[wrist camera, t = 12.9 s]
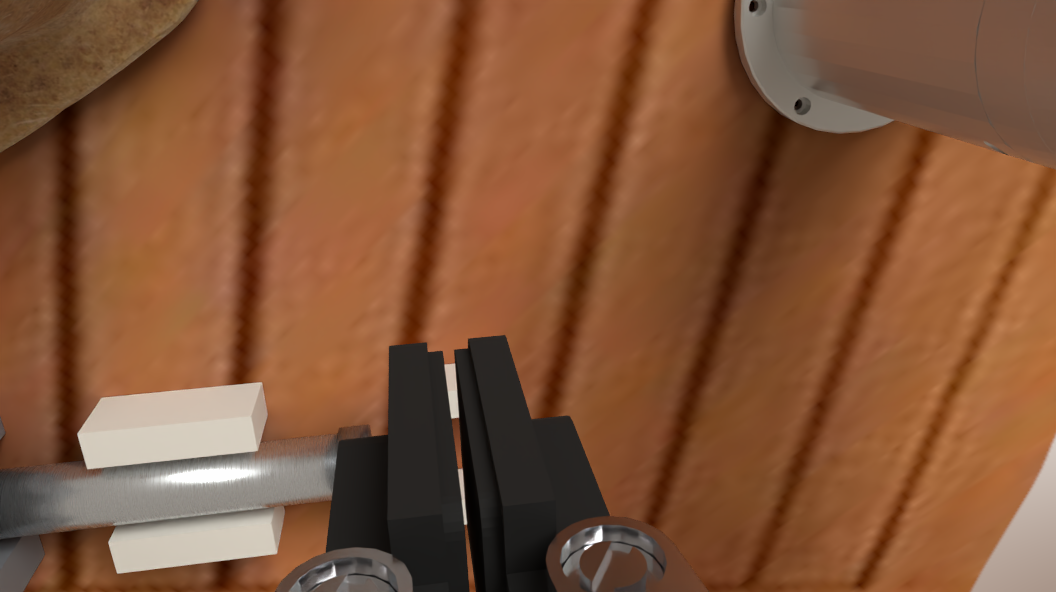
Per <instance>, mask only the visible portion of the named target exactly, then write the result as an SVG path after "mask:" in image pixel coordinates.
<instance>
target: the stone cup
mask: <svg viewBox="0 0 1056 592" xmlns="http://www.w3.org/2000/svg"><path fill="white" fill-rule="evenodd" d="M197 2H198V0H0V152H2V151H3V150H5V149H7V148H9V147H10V146H12V145H14V144H15V143H17V142H19V141H20V140H22V139H23V138H25V137H26V136H28V135H30V134H31V133H33V132H34V131H36V130H37V129H39V128H40V127H42V126H43V125H44V124H46V123H47V122H48V121H50V120H51V119H52V118H54V117H55V116H56V115H58V114H59V113H60V112H61V111H63V110H64V109H65V108H67V107H69V106H70V105H72V104H74V103H75V102H77V101H78V100H80V99H82V98H83V97H85V96H86V95H88V94H89V93H91V92H92V91H93V90H95V89H96V88H98V87H99V86H100V85H102V84H103V83H104V82H106V81H107V80H109V79H110V78H112V77H113V76H114V75H116V74H117V73H119V72H120V71H122V70H123V69H124V68H125V67H127V66H128V65H129V64H131V63H132V62H133V61H134V60H136V59H137V58H138V57H139V56H141V55H142V54H143V53H144V52H146V51H147V50H148V49H150V48H151V47H152V46H153V45H155V44H156V43H157V42H159V41H160V40H161V39H162V38H164V37H165V36H166V35H168V34H169V33H170V32H171V31H172V30H173V29H174V28H175V27H177V26H178V25H179V24H180V23H181V22H182V21H183V20H184V19H185V17H186V16H187V15H188V14H189V12H190V11H191V10H192V8H193V7H194V6H195V5H196V3H197Z"/></svg>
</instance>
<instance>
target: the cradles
mask: <svg viewBox="0 0 1056 592" xmlns="http://www.w3.org/2000/svg"><path fill="white" fill-rule="evenodd" d="M444 366H445V373H446V381H447V389H448V397H449V404H450V412H451V418H459V411H458V397H457V383H456V369H455V364H445V365H444ZM267 416H268V414H267V408H266V402H265V397H264V391H263V385H262V382H259V383H249V384H239V385H228V386H218V387H207V388H197V389H187V390H176V391H166V392H156V393H145V394H135V395H125V396H114V397H104V398H101V399H100V401H99V402H98V404H97V405H96V407H95V408H94V410H93V411H92V413H91V414H90V416H89V417H88V419H87V420H86V422H85V423H84V425H83V426H82V428H81V429H80V431H79V432H78V434H77V435H78V438H79V442H80V445H81V449H82V452H83V456H84V459H85V463H86V466H87V469H95V468H104V467H114V466H123V465H132V464H142V463H151V462H160V461H169V460H179V459H188V458H197V457H207V456H216V455H225V454H235V453H244V452H253V451H258V448H259V445H260V441H261V438H262V434H263V430H264V427H265V423H266V420H267ZM458 474H459V482H460V489H461V497H462V506H463V516H464V525H466V524H467V519H466V508H465V495H464V481H463V469H458ZM284 516H285V509H284V506H278V507H270V508H261V509H253V510H244V511H236V512H227V513H218V514H210V515H201V516H193V517H184V518H176V519H167V520H158V521H150V522H141V523H133V524H124V525H117V526H116V528H115V530H114V532H113V534H112V536H111V538H110V540H109V542H108V543H109V547H110V550H111V554H112V557H113V561H114V564H115V568H116V571H117V574H119V573H127V572H135V571H143V570H151V569H159V568H167V567H175V566H183V565H191V564H199V563H208V562H216V561H224V560H232V559H240V558H248V557H256V556H264V555H272V554H277V551H278V546H279V541H280V536H281V531H282V526H283V521H284Z"/></svg>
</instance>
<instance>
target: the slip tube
mask: <svg viewBox="0 0 1056 592" xmlns="http://www.w3.org/2000/svg"><path fill="white" fill-rule="evenodd" d="M363 437H372V435H371V430H370V426H369V425H360V426H351V427H341V428H339V431H338V434H329V435H320V436H310V437H301V438H292V439H282V440H273V441H263V442H260V445H259V448H258V451H253V452H244V453H235V454H225V455H216V456H207V457H197V458H188V459H179V460H169V461H160V462H151V463H142V464H132V465H123V466H114V467H104V468H95V469H87V466H86V463H85V460H84V461H75V462H65V463H56V464H46V465H37V466H28V467H18V468H9V469H0V539H4V538H13V537H21V536H30V535H38V534H47V533H56V532H64V531H73V530H81V529H90V528H98V527H107V526H116V525H124V524H133V523H141V522H150V521H158V520H167V519H176V518H184V517H193V516H201V515H210V514H218V513H227V512H236V511H244V510H253V509H261V508H270V507H278V506H287V505H296V504H304V503H313V502H321V501H330V500H332V493H333V484H334V475H335V467H336V458H337V449H338V443H339V441H340V440H345V439H354V438H363Z"/></svg>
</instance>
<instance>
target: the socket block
mask: <svg viewBox="0 0 1056 592" xmlns="http://www.w3.org/2000/svg"><path fill="white" fill-rule="evenodd" d="M4 434H5V430H4V427H3V424H2V421H1V418H0V439H1V438H2V437H3V436H4ZM44 555H45V553H44V550H43V547H42V544H41V541H40V538H39V534H38V535H30V536H21V537H13V538H4V539H0V592H23V591H24V589H25V588H26V586H27V584H28V583H29V581H30V579H31V577H32V576H33V574H34V572H35V571H36V569H37V567H38V566H39V564H40V562H41V561H42V559H43V557H44Z"/></svg>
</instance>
